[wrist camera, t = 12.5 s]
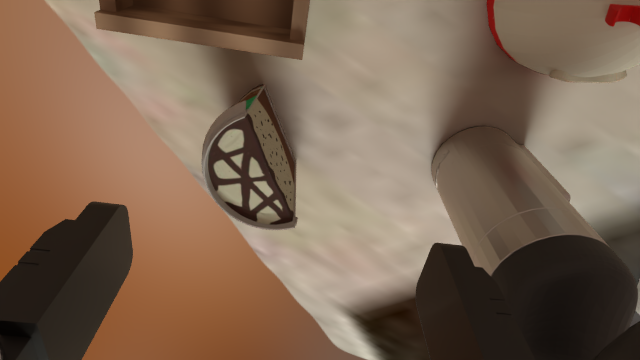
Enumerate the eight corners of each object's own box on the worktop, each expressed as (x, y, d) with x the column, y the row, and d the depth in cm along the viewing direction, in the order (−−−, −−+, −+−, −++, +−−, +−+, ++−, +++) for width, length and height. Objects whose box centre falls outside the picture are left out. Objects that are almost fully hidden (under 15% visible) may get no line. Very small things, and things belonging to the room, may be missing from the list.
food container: (199, 88, 40) (167, 133, 31) (258, 69, 39) (241, 110, 30) (249, 188, 46) (234, 248, 37) (300, 174, 45) (296, 232, 36)
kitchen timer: (619, 65, 39) (767, 134, 26) (474, 70, 39) (551, 141, 26) (685, -115, 31) (937, -141, 18) (505, -108, 31) (633, -130, 19)
